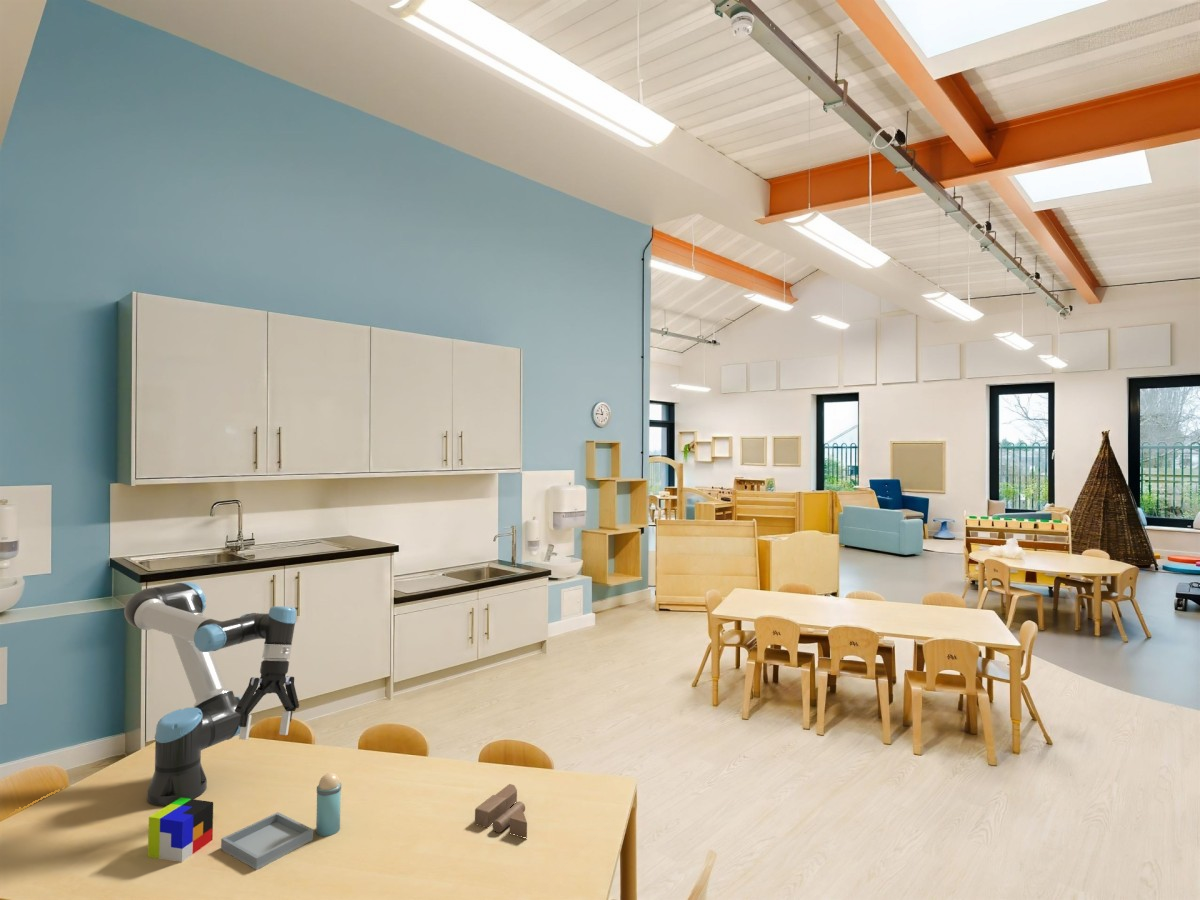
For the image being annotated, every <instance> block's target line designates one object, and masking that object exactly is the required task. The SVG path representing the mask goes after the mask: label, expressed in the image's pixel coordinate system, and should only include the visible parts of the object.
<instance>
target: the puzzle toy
mask: <svg viewBox="0 0 1200 900" xmlns="http://www.w3.org/2000/svg"><path fill="white" fill-rule="evenodd" d="M213 827H214V801H208V800H201V799H195V798H194V799H188V798H179V799H178V800H176V801H174V802H173V803H171V804H169V805H165V807H163V808H162V809H161V808H160V809H159V810H158V811H156V812H155V813H153V814H151V815H149V817H148V833H147V834H148V841H147V842H148V843H147V844H148V845H147V857H148V858H154V859H160V860H167V861H171V862H172V861H174V862H180V863H183V862H184V861H186V860H187V859H188V858H190V857H191V856H193V855H194V854H195V853H197V852H198V851H199V850H201V849H202V848H204V847H205V846H206V845H208V844H209V843H210V842H212V841H213V835H214V834H213V833H214V832H213V831H214V828H213Z"/></svg>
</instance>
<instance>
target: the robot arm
mask: <svg viewBox="0 0 1200 900" xmlns="http://www.w3.org/2000/svg"><path fill="white" fill-rule="evenodd" d="M206 602H207V599H206V595H205V592H204V591H203V589H202V588H201V587H200V586H199V585H198V584H196V583H193V582H190V581H189V582H188V581H187V582H177V583H173V584H167V585H162V586H155V587H149V588H145V589H141V590H139V591H137V592H135V593H134V594H132V595H131V597H129V598H128V600H127V601H126V603H125V604H124V605H125V606H124V610H123V611H124V612H123V615H124V618H125V619H126V621H127V622H128V624H129V625H131V626H132V627H135V628H136V629H140V630H143V631H144V630H145V631H149V630H156V631H158V632H162V633H163V634H164V633H165V634H168V635H171V637H172V640H173V642H174V645H175V648H176V650H177V653H178V655H179V660H180V662H181V663H182V667H183V669H184V672H185V675H186V678H187V680H188V683H189V685H190V688H191V692H192V694H193V696H194V699H195V702H194V704H193V706H192V707H185V708H180V709H177V710H176V709H175V710H173V711H171V712H169V713H167V714H165V715H164V716H162V717H161V718H160V719H159V720H158V722H157V724H156V727H155V734H154V739H155V747H154V748H155V749H154V751H155V752H154V755H155V756H154V773H153V775H152V778H151V781H150V784H149V786H148V789H147V792H146V802H147V803H149V804H151V805H153V806H165V807H166V806H168V805H169V804H171V803H173V802H174V801H176V800H178V799H179V798H188V799H195V798H199V796H200V795H203V794H204V793H205V791H206V790H207V788H208V787H207V786H208V784H207V783H208V780H207V776H206V774H205V771H204V769H203V765H202V763H201V762H202V761H201V759H202V756H201V755H202V751H204V750H205V749H207V748H210V747H212V746H215V745H217V744H220V743H221V742H224V741H227V740H228V741H229V740H231V739H232V738H235V737H236V736H238V735H239V736H238V739H239V740H242V741H243V740H244V741H246V740H249V735H250V730H251V729H250V728H251V724H252V723H251V722H252V718H253V717H252V716H253V715H252V714H251V713H252V711H253V709H254V708H255V707H256V706H257V705H258V703H259V702H260V701H261V700H262V698H263V697H264V696H267V694H276V695H277V697H278V699H279V701H280V702H281V704H282V706H283V708H284V710H282V712H281V718H280V719H281V720H280V725H279V732H278V734H279V735H281V736H282V735H283V736H288V734H289V729H290V723H291V722H292V719H293V712H295V711H297V709H299V708H300V704H299V703H300V702H299V699H298V695H297V692H296V690H297V689H296V686H295V677H294V676H286V674H288V672H289V667H290V666H289V665H290V661H288V660H289V659H290V658H291V651H292V644H293V638H294V632H295V631H294V630H295V624H296V619H297V618H296V617H297V609H296V608H295V607H292V606H279V605H278V606H271V607H270V608H269V612H268V613H263V612H262V613H259V612H258V613H257V612H252V613H244V614H242V615H241V616H239V617H236V618H232V619H227V620H222V621H220V620H217V619H213V618H209V617H206V616H204V614H203V613H204V611H205V609H206V606H207V604H206ZM261 639H263V640H264V645H263V649H262V656H261V658H262V659H263V660H262V661H261V662H260V670H259V673H260V677H253V676H252V677H250V679H249V682H248V686H247V688H246V689H245V690H244V693H243V695H242V696H235V693H234V691H233V690H232V689H229V688H227V687H226V685H225V684H224V683H225V682H224V680H223V678H222V675H221V673H220V670H219V668H218V665H217V662H216V659H215V657H214V655H213V653H212V652H217V651H219V650H222V649H226V648H229V647H233V646H236V645H240V644H243V643H247V642H251V641H255V640H261Z"/></svg>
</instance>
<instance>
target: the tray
mask: <svg viewBox="0 0 1200 900" xmlns="http://www.w3.org/2000/svg"><path fill="white" fill-rule="evenodd" d="M313 840H314V829H313V828H312V827H309V826H307V825H305V824H303V823H301V822H299V821H297V820H295V819H292V817H288V816H286V815H284V814H283V813H280V812H275V813H273V814H271V815H269V816H266V817H264V818H262V819H261V820H258V821H256V822H254V823H252V824H250V825H247V826H245V827H243V828H242V829H239V830H237V831H235V832H233V833H230V834H228V835H226V836H223V837H222V838H221V841H220V842H221V844H220V850H221V851H223V852H224V853H226V854H228V855H230V856H231V857H233V858H235V859H236V860H238V861H240V862H242V863H244V864H245V865H247V866H249V867H250V868H251V869H252V868H253V869H254V870H256V871H257V870H259V869H261V868H263V867H264V866H265V867H266V866H267V865H268V864H270V863H273V862H274V861H276V860H278V859H280V858H282V857H284V856H286V855H287V854H290V853H291V852H294V851H295V850H297V849H299V848H300V847H302V846H304V845H307V844H308V843H310V842H312V841H313Z"/></svg>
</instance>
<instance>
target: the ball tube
mask: <svg viewBox="0 0 1200 900" xmlns="http://www.w3.org/2000/svg"><path fill="white" fill-rule="evenodd" d="M341 791H342V782H340V778H339V776H338V775H337V774H336V773H333V772H328V773H325V774H324V775H323V776H322V777H321V778H320V780H319V781H318V785H317V786H316V821H315V822H316V827H315V832H316V835H318V836H319V837H330V836H333V835H335V834H337V833H339V831H340V829H341V803H342V802H341V800H342V799H341V795H342V792H341Z"/></svg>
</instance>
